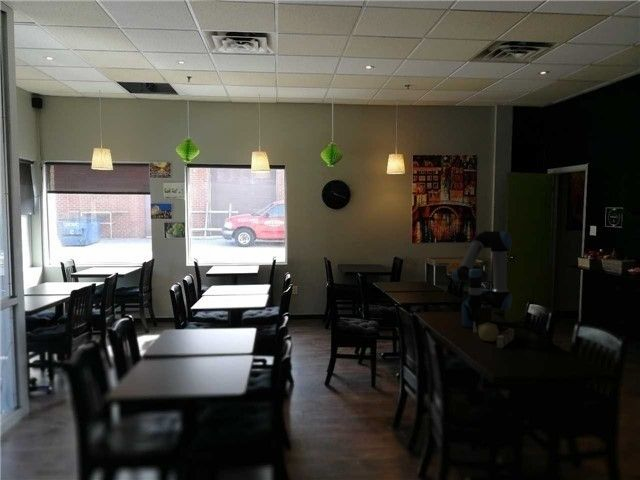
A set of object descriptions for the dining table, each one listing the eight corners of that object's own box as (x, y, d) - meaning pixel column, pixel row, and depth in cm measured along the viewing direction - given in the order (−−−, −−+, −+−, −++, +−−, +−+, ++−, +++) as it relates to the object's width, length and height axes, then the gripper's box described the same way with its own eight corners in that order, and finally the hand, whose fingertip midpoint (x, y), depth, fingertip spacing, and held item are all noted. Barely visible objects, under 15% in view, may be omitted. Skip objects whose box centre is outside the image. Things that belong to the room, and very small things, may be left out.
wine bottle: (484, 328, 308) (484, 283, 307) (464, 328, 309) (464, 284, 307) (478, 323, 322) (478, 281, 320) (459, 323, 322) (459, 281, 321)
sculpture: (494, 337, 285) (494, 320, 284) (502, 343, 273) (502, 325, 272) (475, 338, 284) (475, 320, 284) (483, 343, 272) (483, 325, 272)
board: (508, 338, 283) (508, 327, 283) (513, 338, 281) (513, 328, 281) (496, 347, 264) (496, 336, 264) (502, 348, 262) (502, 337, 262)
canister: (489, 330, 302) (489, 300, 301) (493, 334, 292) (493, 303, 291) (472, 330, 303) (472, 300, 302) (476, 334, 293) (476, 303, 292)
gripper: (462, 294, 283) (462, 331, 285) (483, 296, 275) (483, 334, 277) (467, 292, 289) (466, 329, 291) (487, 294, 281) (487, 332, 282)
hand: (474, 331), depth 284 cm, fingers closed
